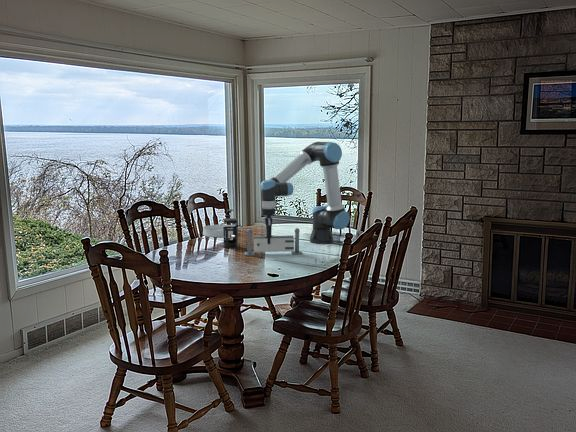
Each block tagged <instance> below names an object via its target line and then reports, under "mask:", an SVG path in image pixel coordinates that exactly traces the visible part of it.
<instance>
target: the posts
mask: <svg viewBox="0 0 576 432" xmlns="http://www.w3.org/2000/svg"><path fill="white" fill-rule="evenodd" d="M300 231H301V230H300V228H299V227H296V228H294V251H290V253H291V255H292V256H296V255H297V256H298V255H302V256H303V255H304V254H303V251H302V250H300ZM246 233H247V235H246V236H247V237H246V240H247V243H246V245H247V251H244V253H243V255H244V257H246V256H248V257H250V256H253V257H255V256H256V252H254V251H253V247H252V246H253V244H252V243H253V241H252V240H253V239H252V234H253V231H252V229H251V228H248V229H246Z"/></svg>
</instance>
